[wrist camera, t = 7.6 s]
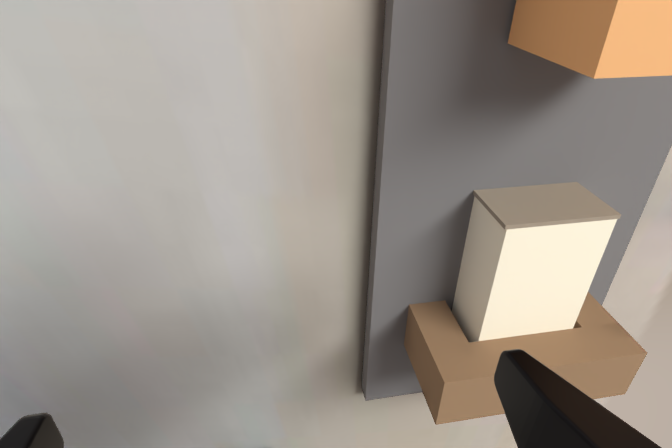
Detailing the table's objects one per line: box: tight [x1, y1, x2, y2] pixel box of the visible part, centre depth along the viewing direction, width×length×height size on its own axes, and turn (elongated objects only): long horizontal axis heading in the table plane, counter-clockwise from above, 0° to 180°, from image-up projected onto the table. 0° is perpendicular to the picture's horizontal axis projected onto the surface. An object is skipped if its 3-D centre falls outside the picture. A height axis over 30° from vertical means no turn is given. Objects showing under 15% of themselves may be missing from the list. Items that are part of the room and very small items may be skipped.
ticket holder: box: [362, 0, 672, 425], centre depth 19 cm, size 30×14×6 cm, turn 179°
